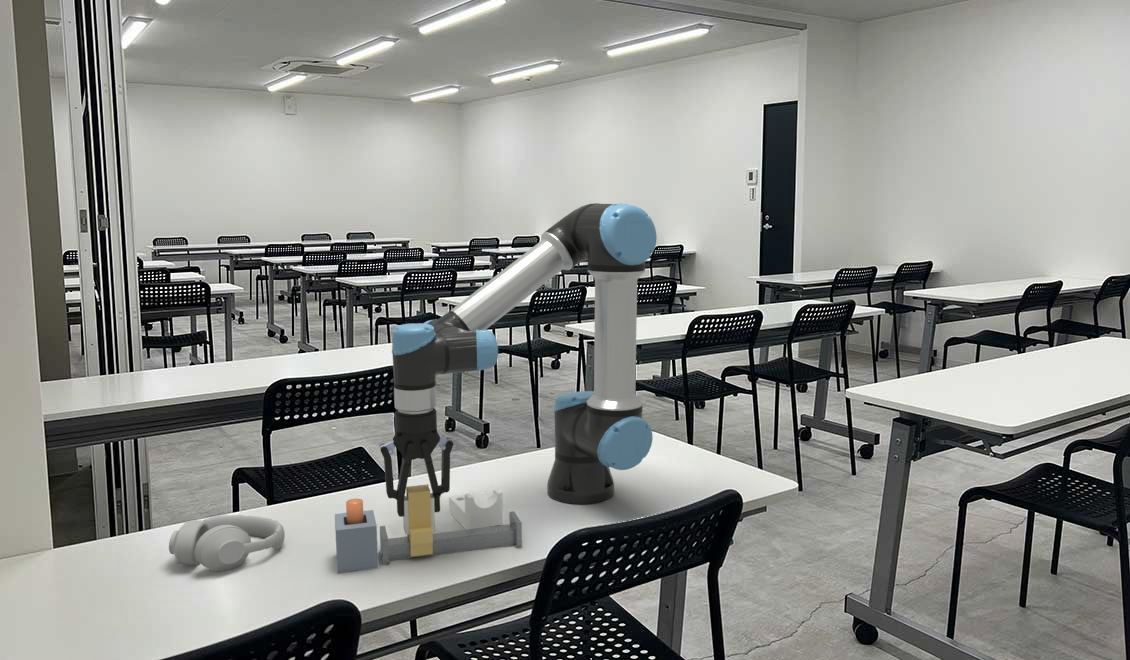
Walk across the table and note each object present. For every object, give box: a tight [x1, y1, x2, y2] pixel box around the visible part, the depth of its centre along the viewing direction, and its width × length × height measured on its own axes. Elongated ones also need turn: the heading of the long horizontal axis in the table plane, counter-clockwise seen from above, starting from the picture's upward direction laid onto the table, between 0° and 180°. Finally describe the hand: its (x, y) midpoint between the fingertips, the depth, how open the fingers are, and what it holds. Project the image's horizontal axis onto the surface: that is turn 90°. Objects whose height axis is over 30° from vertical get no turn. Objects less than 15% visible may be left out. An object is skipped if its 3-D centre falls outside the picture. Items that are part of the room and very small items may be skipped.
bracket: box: [448, 488, 504, 530], centre depth 173 cm, size 13×7×8 cm, turn 26°
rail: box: [379, 510, 523, 566], centre depth 158 cm, size 26×6×5 cm, turn 107°
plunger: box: [345, 498, 364, 525], centre depth 152 cm, size 3×3×5 cm
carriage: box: [405, 483, 434, 557], centre depth 156 cm, size 4×7×12 cm, turn 17°
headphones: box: [168, 514, 286, 572], centre depth 157 cm, size 18×8×20 cm
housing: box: [334, 509, 379, 574], centre depth 153 cm, size 7×8×8 cm
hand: (419, 529), depth 156 cm, fingers closed on carriage, 4 cm apart
